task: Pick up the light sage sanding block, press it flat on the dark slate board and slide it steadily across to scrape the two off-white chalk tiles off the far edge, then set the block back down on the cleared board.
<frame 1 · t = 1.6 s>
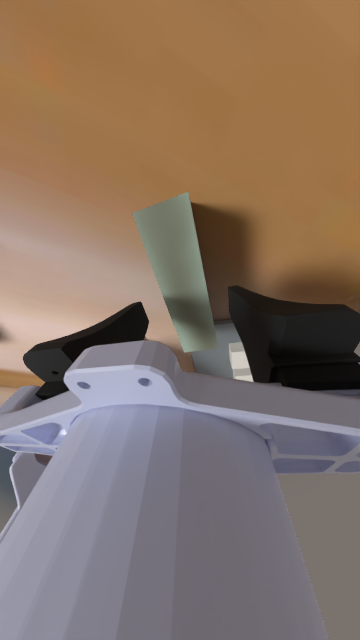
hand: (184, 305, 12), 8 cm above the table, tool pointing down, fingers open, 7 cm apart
chalk tile B: (241, 350, 24), point 1 cm above the table, touching slate board
chalk tile A: (244, 372, 28), point 1 cm above the table, touching slate board
slate board: (226, 359, 27), on the table
sanding block: (188, 273, 19), on the table
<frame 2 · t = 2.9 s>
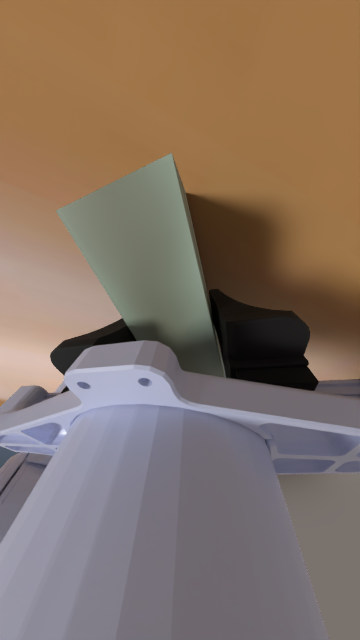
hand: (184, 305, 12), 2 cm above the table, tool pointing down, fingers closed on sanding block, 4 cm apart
sanding block: (185, 295, 14), on the table, touching gripper
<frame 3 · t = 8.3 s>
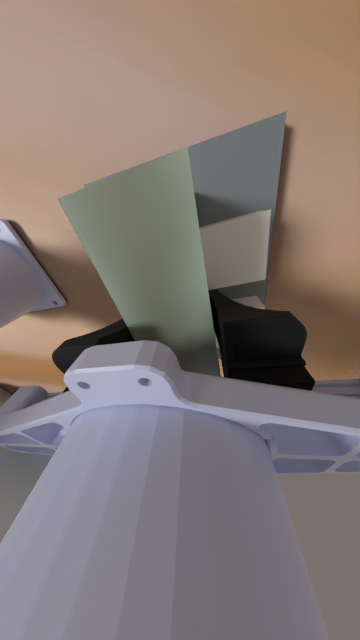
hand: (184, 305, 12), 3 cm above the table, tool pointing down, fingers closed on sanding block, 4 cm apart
chalk tile B: (228, 250, 11), point 1 cm above the table, touching slate board
chalk tile A: (233, 317, 14), point 1 cm above the table, touching slate board
slate board: (195, 289, 14), on the table
sanding block: (185, 295, 13), point 1 cm above the table, touching gripper
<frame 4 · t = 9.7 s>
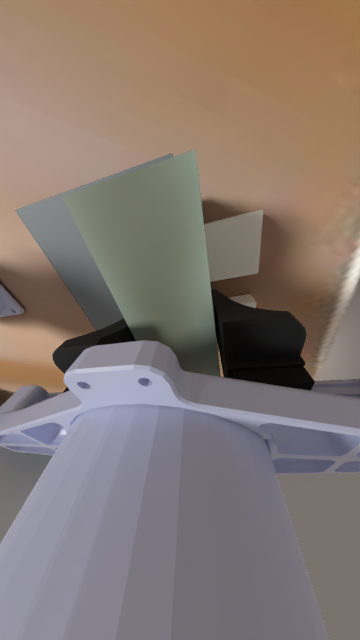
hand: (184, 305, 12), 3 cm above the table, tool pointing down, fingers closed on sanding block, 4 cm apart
chalk tile B: (226, 246, 12), on the table, touching sanding block
chalk tile A: (228, 312, 16), on the table, touching sanding block
slate board: (139, 299, 15), on the table
sanding block: (185, 296, 13), point 1 cm above the table, touching chalk tile A, chalk tile B, gripper
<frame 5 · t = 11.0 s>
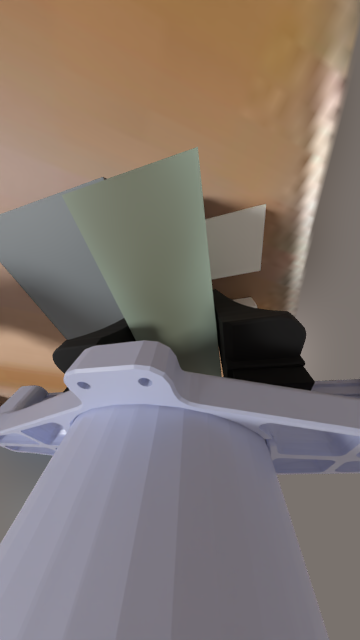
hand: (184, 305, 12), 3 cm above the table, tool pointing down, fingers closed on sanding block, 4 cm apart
chalk tile B: (226, 243, 12), on the table
slate board: (101, 307, 16), on the table
sanding block: (185, 296, 13), point 1 cm above the table, touching gripper
when the fingers open (4 cm above the table, at t = 14.0 s): sanding block drops 1 cm, resting on slate board.
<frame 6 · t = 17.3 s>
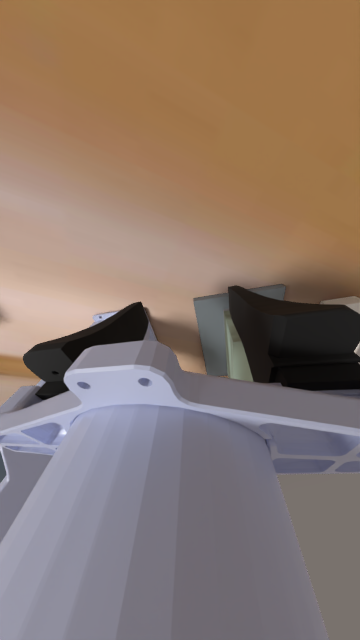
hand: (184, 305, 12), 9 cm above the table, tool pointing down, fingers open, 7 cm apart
chalk tile B: (331, 309, 21), on the table
slate board: (235, 338, 26), on the table
sanding block: (237, 342, 25), point 1 cm above the table, touching slate board
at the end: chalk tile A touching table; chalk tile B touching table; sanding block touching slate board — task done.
